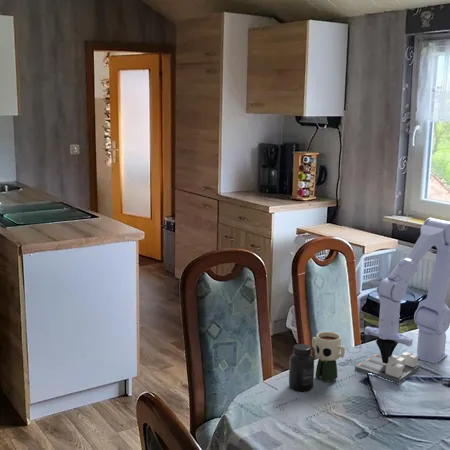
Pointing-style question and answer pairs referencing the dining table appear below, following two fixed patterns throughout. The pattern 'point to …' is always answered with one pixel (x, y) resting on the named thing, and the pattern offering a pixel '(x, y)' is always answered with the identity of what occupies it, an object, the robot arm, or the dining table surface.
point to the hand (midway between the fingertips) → (385, 362)
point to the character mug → (327, 354)
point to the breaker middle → (397, 360)
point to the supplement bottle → (301, 369)
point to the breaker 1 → (394, 369)
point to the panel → (383, 369)
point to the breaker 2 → (410, 359)
